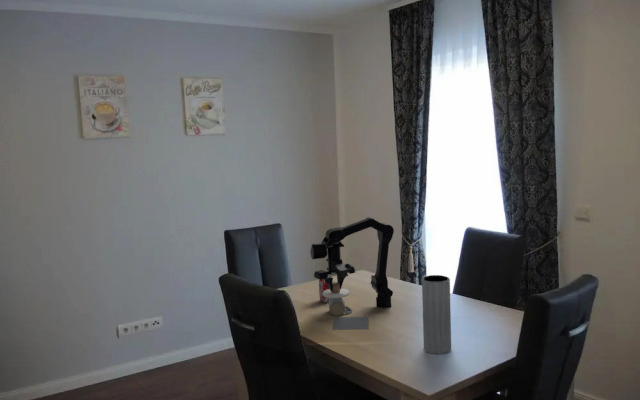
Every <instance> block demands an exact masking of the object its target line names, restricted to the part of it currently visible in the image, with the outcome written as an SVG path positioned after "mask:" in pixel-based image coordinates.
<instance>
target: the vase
mask: <svg viewBox="0 0 640 400" xmlns="http://www.w3.org/2000/svg"><path fill="white" fill-rule="evenodd" d="M421 287H422V288H421V292H422V293H421V294H422V295H421V296H422V297H421V299H422V300H421V301H422V326H423V327H422V332H423V334H422V335H423V349H424V351H426V352H427V353H429V354H432V353H433V354H434V355H444V353H445V354H448V353H449V352H451V351H452V329H451V328H452V325H451V323H452V322H451V319H452V317H451V314H452V313H451V279H450V277H449V276H446V275H440V274H439V275H438V274H432V275H431V274H429V275H425V276H423V277H422V278H421Z"/></svg>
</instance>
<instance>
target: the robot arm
mask: <svg viewBox="0 0 640 400" xmlns="http://www.w3.org/2000/svg"><path fill="white" fill-rule="evenodd" d="M369 228H372V229H374V230H375V231H376V234H377V235H376V236H377V240H378V249H377V250H378V252H377V259H376V260H377V261H376V269H375V273H374V275H371V276H370V278H371V279H370V280H371V281H370V282H369V283H370V285H371V288H372V289H373V290H374V291H375V293H377V295H376V298H375V303H376V308H381V309H388V308H391V307H392V297H393V293H394V291H393V290H391V289H390V287H389V281H388V277H387V267H388V266H387V265H388V258H389V249H390V247H389V246H390V243H391V242H392V239H393V236H394V232H395V231H394V230H395V229H394V227H393V226H392V225H391V224H388V223H385V222H380V221H378V220H375V219H374V218H373V217H370V216H369V217H366V218H364V219H362V220H360V221H357V222H356V221H355V222H353V223H350V224H348V225H345V226H341V227H333V228H329V229H327V230H326V231H325V235H324V237H323V239H322V240H321V243H312V244H311V248H310V250H309V251H310V252H309V253H310V257H311V260H319V259H325V258H326V257H327V258H326V259H325V261H326V262H327V266H328V267H326V270H322V269H320V270H315V271H314V274H313V277H314V278H315V279H317V280H322V279H324V280H325V281H326V283H327V285H328V287H329V289H330V291H331V292H332V291H333V286H332V280H333V279H334V277H332V276H333V275H336V279H337V282H338V283H340V290H341V289H342V287H343V283H344V280H345V279H346V277H348V276H349V275H351V274H355V273H356V268H355V267H354V266H352V264H351V263H350V262H347V263H345V264H344V262H343V259H342V258H341V248H342V247H343V248H344V247H345V244H343V243H342V240H344V239H345V238H346V237H348V236H350V235H353V234H356V233H359V232H361V231H363V230H366V229H369ZM333 281H334V280H333ZM392 308H393V307H392Z"/></svg>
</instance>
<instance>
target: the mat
mask: <svg viewBox="0 0 640 400" xmlns="http://www.w3.org/2000/svg"><path fill="white" fill-rule="evenodd" d="M369 326H370V325H369V316H341V317H340V316H338V317H337V316H336V317H334V319H333V325H332V330H333V331H334V330H335V331H336V330H338V331H340V330H369V329H370V327H369Z"/></svg>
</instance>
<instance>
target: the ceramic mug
mask: <svg viewBox="0 0 640 400" xmlns="http://www.w3.org/2000/svg"><path fill="white" fill-rule="evenodd" d="M327 303H328V309H329V312H330V314H331V315H332V316H342V315H344V314H346V315H350V314H352V312H353V309H352V308H351V307H349V306H346V303H345V299H344V297H342V298H330V300H329V302H327Z"/></svg>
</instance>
